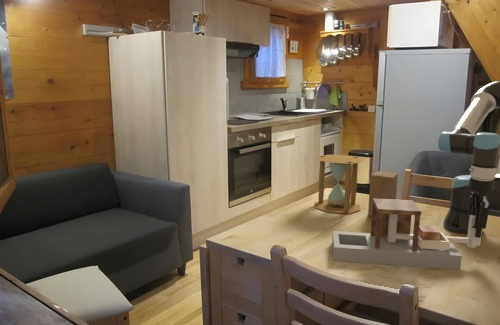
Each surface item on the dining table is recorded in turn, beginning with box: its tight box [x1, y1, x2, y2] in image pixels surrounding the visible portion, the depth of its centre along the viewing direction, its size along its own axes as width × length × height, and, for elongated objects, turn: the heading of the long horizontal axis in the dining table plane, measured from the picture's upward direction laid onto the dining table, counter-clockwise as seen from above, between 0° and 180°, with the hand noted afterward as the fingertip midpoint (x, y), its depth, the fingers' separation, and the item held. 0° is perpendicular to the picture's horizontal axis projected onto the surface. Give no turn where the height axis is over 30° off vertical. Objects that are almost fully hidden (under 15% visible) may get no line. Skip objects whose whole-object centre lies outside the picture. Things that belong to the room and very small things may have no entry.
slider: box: [387, 214, 477, 250], centre depth 147 cm, size 29×10×11 cm, turn 81°
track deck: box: [331, 230, 463, 271], centre depth 151 cm, size 42×16×5 cm, turn 81°
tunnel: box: [370, 198, 422, 251], centre depth 149 cm, size 14×14×14 cm
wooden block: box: [367, 170, 399, 218], centre depth 193 cm, size 10×10×20 cm
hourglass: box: [314, 154, 364, 215], centre depth 206 cm, size 24×22×25 cm
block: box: [419, 225, 442, 241], centre depth 148 cm, size 6×6×6 cm
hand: (473, 243), depth 146 cm, fingers closed on slider, 2 cm apart
